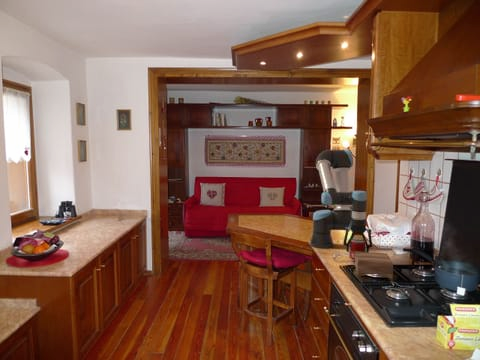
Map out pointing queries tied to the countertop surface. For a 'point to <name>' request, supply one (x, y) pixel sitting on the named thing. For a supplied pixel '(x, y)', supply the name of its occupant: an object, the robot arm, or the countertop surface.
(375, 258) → the walnut stand
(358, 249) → the canned food
